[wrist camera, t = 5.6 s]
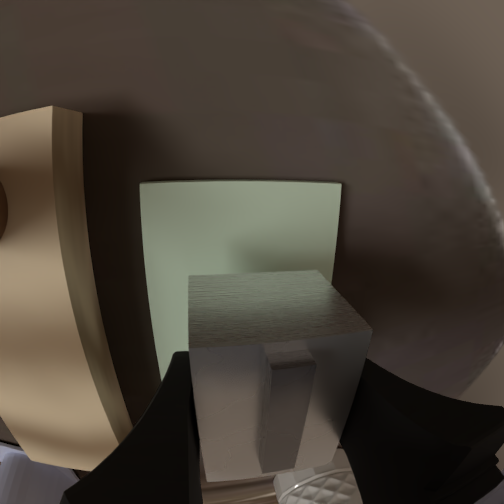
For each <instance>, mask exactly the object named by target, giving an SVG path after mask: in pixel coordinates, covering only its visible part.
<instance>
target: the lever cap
mask: <svg viewBox="0 0 504 504" xmlns="http://www.w3.org/2000/svg"><path fill="white" fill-rule="evenodd" d="M372 332H373V329H372V328H371V327H370V326H369V325H368V323H367V322H366V321H365V320H364V319H363V318H362V317H361V316H360V315H359V314H358V313H357V312H356V311H355V309H354V308H353V307H352V306H351V305H350V304H349V303H348V302H347V301H346V300H345V299H344V298H343V297H342V296H341V294H340V293H339V292H338V291H337V290H336V289H335V288H334V287H333V286H332V285H331V284H330V283H329V282H328V281H327V280H326V279H325V278H324V277H323V275H322V274H321V273H320V272H319V271H318V270H301V271H282V272H261V273H239V274H215V275H189V276H188V347H189V358H190V367H191V376H192V385H193V393H194V401H195V409H196V416H197V423H198V430H199V437H200V443H201V450H202V456H203V462H204V468H205V474H206V479H207V482H218V481H230V480H240V479H249V478H257V477H264V476H271V475H277V474H283V473H288V472H294V471H299V470H304V469H308V468H313V467H317V466H322V465H326V464H330V463H331V461H332V459H333V456H334V453H335V451H336V448H337V446H338V443H339V440H340V438H341V435H342V432H343V429H344V427H345V424H346V421H347V418H348V415H349V412H350V409H351V406H352V403H353V400H354V397H355V393H356V390H357V387H358V384H359V380H360V377H361V373H362V370H363V366H364V363H365V359H366V356H367V352H368V348H369V344H370V340H371V336H372Z"/></svg>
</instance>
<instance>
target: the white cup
mask: <svg viewBox="0 0 504 504" xmlns="http://www.w3.org/2000/svg"><path fill="white" fill-rule="evenodd" d="M273 484H274V488H275V492H276V496H277V500H278V503H279V504H363V502H362V499H361V495H360V492H359V489H358V486H357V483H356V480H355V477H354V474H353V471H352V469H351V466H350V463H349V461H348V458H347V455H346V453H345V451H344V449H342V448H339V449H336V451H335V453H334V456H333V459H332V461H331V463H330V464H326V465H322V466H317V467H313V468H308V469H304V470H299V471H294V472H288V473H283V474H277V475H276V476H275V478H274V480H273Z"/></svg>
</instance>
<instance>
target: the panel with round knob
mask: <svg viewBox="0 0 504 504" xmlns="http://www.w3.org/2000/svg"><path fill="white" fill-rule="evenodd" d="M82 125H83V113H81V112H77V111H73V110H69V109H65V108H60V107H56V106H48V107H43V108H39V109H34V110H29V111H25V112H21V113H17V114H13V115H9V116H5V117H1V118H0V416H1V417H2V419H3V421H4V422H5V424H6V425H7V427H8V428H9V430H10V431H11V433H12V434H13V436H14V437H15V439H16V440H17V442H18V443H19V445H20V446H21V447H22V449H23V450H24V452H25V453H26V454H27V456H28V457H29V458H30V460H31V461H36V462H40V463H45V464H50V465H55V466H60V467H65V468H71V469H78V470H85V471H92V470H93V469H94V468H95V467H97V466H98V465H99V464H100V463H101V462H102V461H103V460H104V459H105V458H106V457H107V456H108V455H110V454H111V453H112V452H113V451H114V449H115V448H116V447H117V446H118V445H119V444H120V443H121V442H122V441H123V439H124V438H125V437H126V436H127V435H128V434H129V432H130V431H131V430H132V429H133V426H132V423H131V420H130V417H129V414H128V411H127V408H126V405H125V402H124V399H123V396H122V393H121V390H120V386H119V383H118V380H117V376H116V373H115V369H114V365H113V362H112V358H111V354H110V350H109V346H108V342H107V338H106V334H105V330H104V325H103V321H102V316H101V311H100V306H99V301H98V296H97V291H96V285H95V279H94V273H93V267H92V260H91V253H90V246H89V238H88V229H87V219H86V209H85V196H84V179H83V149H82Z"/></svg>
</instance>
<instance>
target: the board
mask: <svg viewBox="0 0 504 504" xmlns="http://www.w3.org/2000/svg"><path fill="white" fill-rule="evenodd" d="M341 185H342V184H340V183H337V182H324V181H298V180H179V181H153V182H141V183H140V207H141V224H142V238H143V250H144V261H145V272H146V281H147V290H148V298H149V306H150V313H151V321H152V328H153V334H154V341H155V347H156V353H157V359H158V364H159V370H160V375H161V380H163V378H164V376H165V374H166V372H167V369H168V367H169V364H170V362H171V359H172V355H173V353H175V352H176V351H189V347H188V276H189V275H215V274H239V273H261V272H282V271H301V270H318V271H319V272H320V273H321V274H322V275H323V277H324V278H325V279H326V280H327V281H328V282H329V283H330V284H331V282H332V274H333V266H334V258H335V249H336V240H337V231H338V221H339V210H340V198H341Z"/></svg>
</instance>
